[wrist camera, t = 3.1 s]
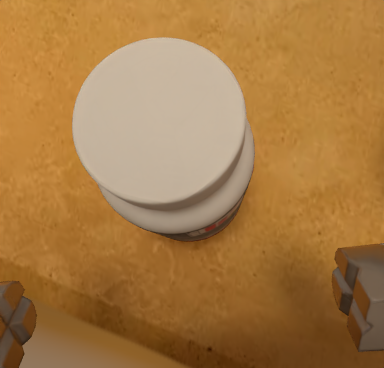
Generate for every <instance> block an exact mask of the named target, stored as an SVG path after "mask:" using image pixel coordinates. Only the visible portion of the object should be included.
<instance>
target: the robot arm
mask: <svg viewBox="0 0 384 368" xmlns="http://www.w3.org/2000/svg"><path fill="white" fill-rule="evenodd" d="M335 261H336V264H337V266H338V267H337V268H336V269H335V270H334V271H333V273H332V288H333V294H334V297H335V300H336V303H337V305H338V307H339V310H341V311H342V312H343V313H345V314H346V315H347V316H348V321H347V328H348V330H349V332H350V334H351V337H352V339H353V341H354V343H355V346H356V348H357V350H358V352H364V351H382V350H384V243H381V244H371V245H362V246H353V247H343V248H338V249H337V251H336V253H335ZM24 290H25V289H24V288H23V286H22V285H21V283H20V282H19V281H5V282H0V368H19V365H20V363H21V361H22V358H23V356H24V351H23V347H22V345H23V344H25V343H26V342H27V341H28V340H29V339H30V338H31V337H32V334H33V332H34V329H35V326H36V317H37V314H36V310H35V306H34V304H33V303H32V301H31V300H29V299H27V298H26V297H24V296H22V295H23V293H24Z"/></svg>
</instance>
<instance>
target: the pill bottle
mask: <svg viewBox="0 0 384 368" xmlns="http://www.w3.org/2000/svg"><path fill="white" fill-rule="evenodd" d="M72 131H73V140H74V144H75V148H76V152H77V154H78V156H79V158H80V160H81V162H82V164H83V166H84V168H85V169H86V171H87V172H88V173H89V175H90V176H91V177H92V178H93V179H94V180H95V181H96V182H97V183H98V186H99V188H100V190H101V192H102V194H103V196H104V197H105V199H106V200H107V202H108V203H109V204H110V205H111V206H112V208H113V209H114V210H115V211H116V212H117V213H119V214H120V215H121V216H122V217H123V218H125V219H126V220H128V221H129V222H131V223H133V224H134V225H136V226H138V227H140V228H142V229H145V230H148V231H151V232H154V233H157V234H160V235H163V236H165V237H168V238H171V239H174V240H179V241H199V240H203V239H207V238H209V237H211V236H213V235H215V234H217V233H219V232H220V231H221V230H223V229H224V228H225V227H226V226H227V225H228V224H229V223H230V222H231V221H232V220H233V218H234V217H235V215H236V214H237V212H238V210H239V207H240V205H241V202H242V199H243V197H244V194H245V192H246V190H247V188H248V184H249V182H250V179H251V176H252V172H253V168H254V157H255V156H254V155H255V151H254V139H253V134H252V131H251V127H250V125H249V122H248V120H247V118H246V107H245V101H244V97H243V94H242V90H241V88H240V86H239V83H238V81H237V80H236V78H235V76H234V75H233V73H232V72H231V70H230V69H229V68H228V66H227V65H226V64H225V63H224V62H223V61H222V60H221V59H220V58H218V57H217V56H216V55H215V54H213V53H212V52H211V51H209V50H207V49H206V48H204V47H202V46H200V45H197V44H195V43H192V42H189V41H186V40H182V39H177V38H150V39H145V40H140V41H137V42H134V43H131V44H128V45H126V46H124V47H122V48H120V49H118V50H116V51H114V52H113V53H111V54H110V55H109V56H107V57H106V58H105V59H103V60H102V61H101V62H100V63H99V64H98V65H97V66H96V67H95V68H94V69H93V71H92V72H91V73H90V74H89V76H88V77H87V79H86V80H85V82H84V84H83V85H82V87H81V89H80V92H79V94H78V96H77V99H76V102H75V106H74V112H73V120H72Z"/></svg>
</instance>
